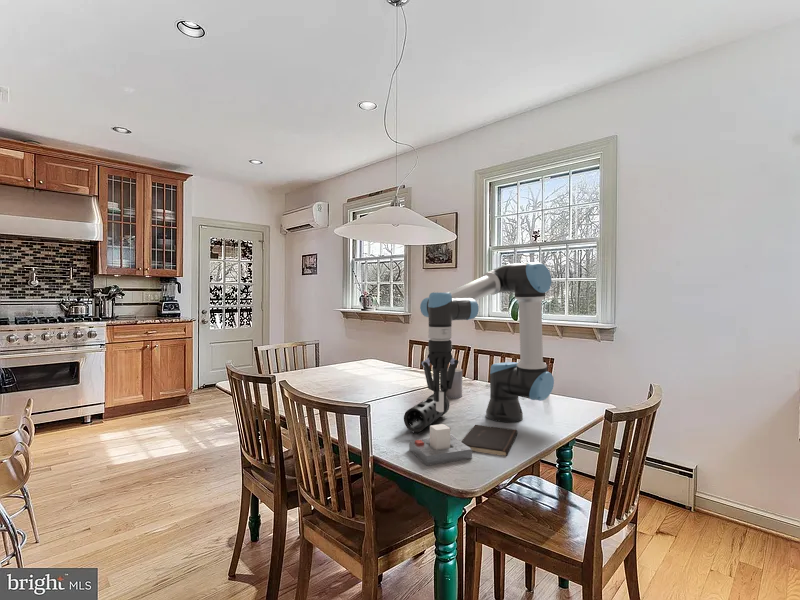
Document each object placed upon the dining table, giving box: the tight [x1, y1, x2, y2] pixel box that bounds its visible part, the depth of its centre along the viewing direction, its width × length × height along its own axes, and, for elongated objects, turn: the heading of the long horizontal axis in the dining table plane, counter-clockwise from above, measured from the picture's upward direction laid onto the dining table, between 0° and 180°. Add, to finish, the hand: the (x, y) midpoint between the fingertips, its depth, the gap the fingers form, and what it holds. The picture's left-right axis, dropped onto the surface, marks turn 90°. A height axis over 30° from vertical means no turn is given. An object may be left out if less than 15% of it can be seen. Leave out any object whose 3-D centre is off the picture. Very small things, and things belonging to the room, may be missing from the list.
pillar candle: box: [446, 367, 463, 399], centre depth 219 cm, size 10×10×15 cm
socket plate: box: [408, 434, 473, 467], centre depth 142 cm, size 16×14×4 cm
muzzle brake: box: [403, 393, 451, 435], centre depth 174 cm, size 10×28×10 cm, turn 154°
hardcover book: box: [461, 424, 518, 457], centre depth 154 cm, size 16×23×2 cm
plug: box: [429, 423, 451, 450], centre depth 142 cm, size 5×5×9 cm
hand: (439, 410), depth 142 cm, fingers closed
